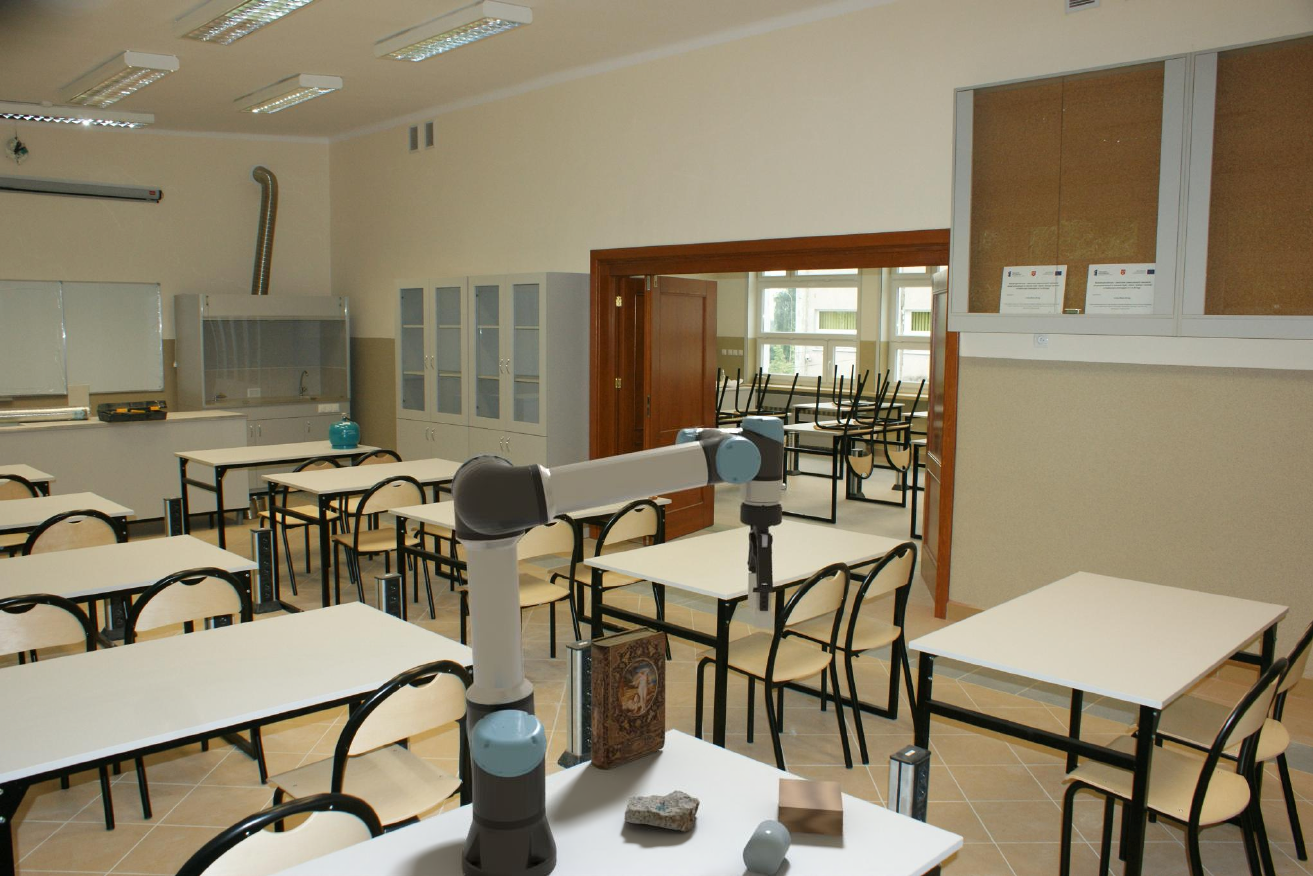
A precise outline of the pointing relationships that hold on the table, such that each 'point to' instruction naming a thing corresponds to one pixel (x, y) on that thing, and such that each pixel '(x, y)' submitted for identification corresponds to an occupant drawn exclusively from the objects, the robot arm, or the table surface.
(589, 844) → the table surface
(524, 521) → the robot arm
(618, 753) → the book
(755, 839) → the grey rounded cylinder
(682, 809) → the rock
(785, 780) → the walnut block
